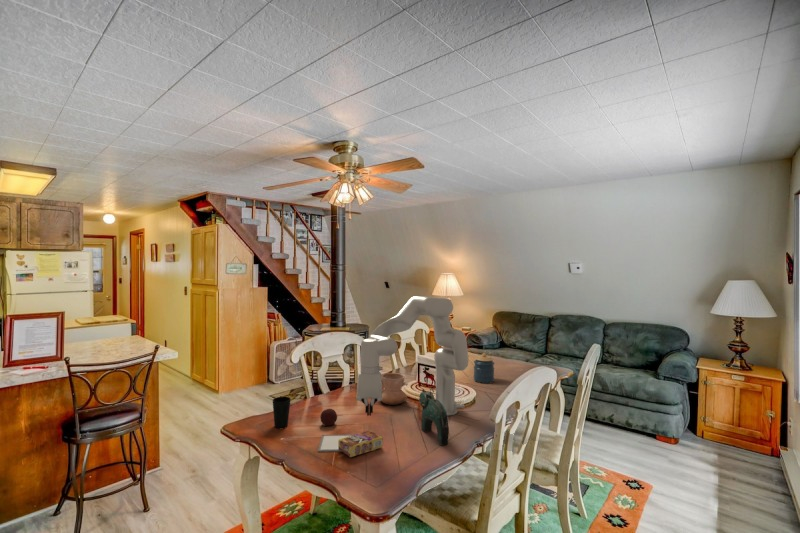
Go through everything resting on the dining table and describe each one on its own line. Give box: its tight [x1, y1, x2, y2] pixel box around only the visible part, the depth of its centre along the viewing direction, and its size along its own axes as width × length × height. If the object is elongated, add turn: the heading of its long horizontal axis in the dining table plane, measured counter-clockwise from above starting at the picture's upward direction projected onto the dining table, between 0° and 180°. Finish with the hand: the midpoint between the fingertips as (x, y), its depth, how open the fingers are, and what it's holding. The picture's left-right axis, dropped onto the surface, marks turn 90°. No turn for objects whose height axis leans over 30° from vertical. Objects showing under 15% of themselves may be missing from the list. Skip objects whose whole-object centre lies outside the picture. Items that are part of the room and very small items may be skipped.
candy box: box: [338, 429, 384, 458], centre depth 154 cm, size 9×4×15 cm
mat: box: [317, 434, 376, 453], centre depth 160 cm, size 22×14×1 cm, turn 94°
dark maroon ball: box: [320, 408, 338, 427], centre depth 178 cm, size 7×8×7 cm
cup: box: [272, 396, 291, 430], centre depth 175 cm, size 8×8×12 cm
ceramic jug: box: [380, 372, 409, 406], centre depth 209 cm, size 18×14×14 cm
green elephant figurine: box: [418, 387, 450, 447], centre depth 168 cm, size 20×6×20 cm, turn 23°
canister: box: [473, 352, 495, 384], centre depth 251 cm, size 13×13×18 cm
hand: (369, 414), depth 160 cm, fingers closed
